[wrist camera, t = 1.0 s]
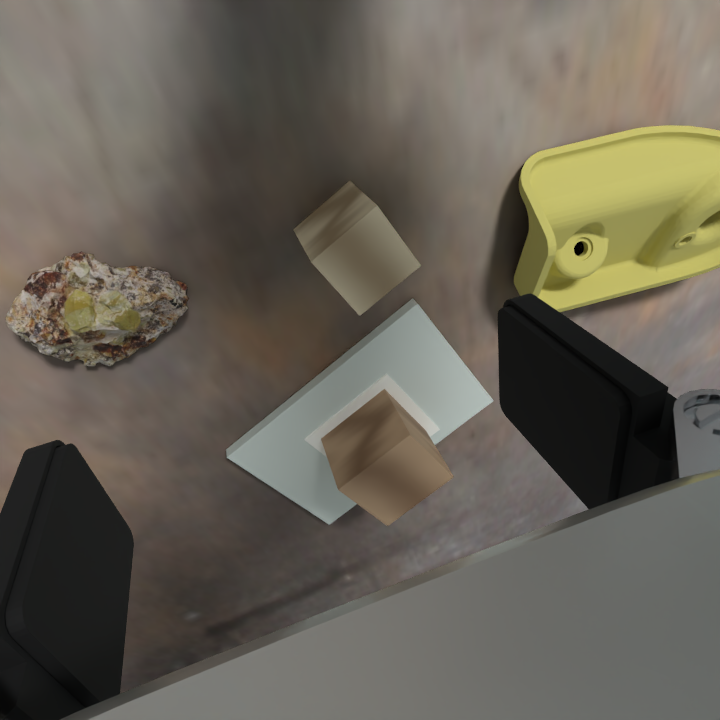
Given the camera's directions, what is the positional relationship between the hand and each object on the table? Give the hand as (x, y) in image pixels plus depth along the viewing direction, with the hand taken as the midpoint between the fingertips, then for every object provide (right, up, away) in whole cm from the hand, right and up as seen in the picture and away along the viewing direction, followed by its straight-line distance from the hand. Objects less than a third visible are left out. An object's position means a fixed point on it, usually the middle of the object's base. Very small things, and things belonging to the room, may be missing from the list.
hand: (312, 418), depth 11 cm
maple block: (0, +10, +25) cm, 27 cm away
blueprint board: (+1, -4, +35) cm, 35 cm away
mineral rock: (-16, +5, +23) cm, 28 cm away
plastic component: (+22, +13, +31) cm, 40 cm away
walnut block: (+2, -5, +34) cm, 35 cm away
